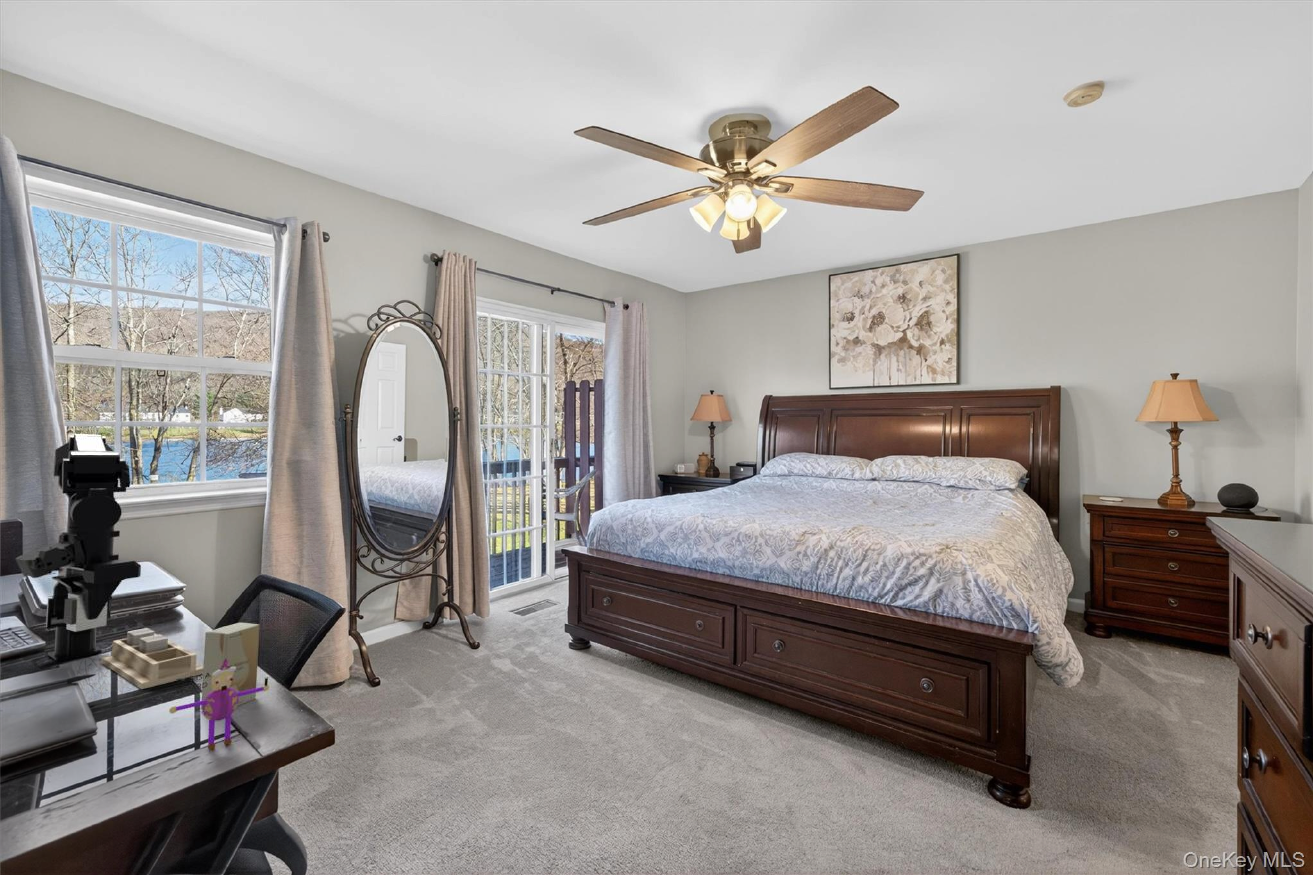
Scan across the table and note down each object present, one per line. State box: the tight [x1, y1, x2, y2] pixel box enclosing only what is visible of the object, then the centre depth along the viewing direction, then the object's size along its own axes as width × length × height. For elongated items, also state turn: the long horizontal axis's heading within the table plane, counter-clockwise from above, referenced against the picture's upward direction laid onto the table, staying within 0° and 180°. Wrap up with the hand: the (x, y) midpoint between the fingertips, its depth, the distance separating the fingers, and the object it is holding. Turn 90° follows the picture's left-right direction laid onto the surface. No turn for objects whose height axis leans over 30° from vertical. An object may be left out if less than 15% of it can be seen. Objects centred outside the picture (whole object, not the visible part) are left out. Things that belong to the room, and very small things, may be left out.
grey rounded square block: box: [64, 591, 108, 632], centre depth 99 cm, size 4×3×6 cm, turn 156°
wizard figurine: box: [168, 658, 270, 751], centre depth 81 cm, size 11×3×12 cm, turn 136°
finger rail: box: [101, 627, 204, 690], centre depth 109 cm, size 21×9×6 cm, turn 57°
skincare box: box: [200, 622, 260, 711], centre depth 94 cm, size 6×4×12 cm
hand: (87, 617), depth 99 cm, fingers closed on grey rounded square block, 3 cm apart
